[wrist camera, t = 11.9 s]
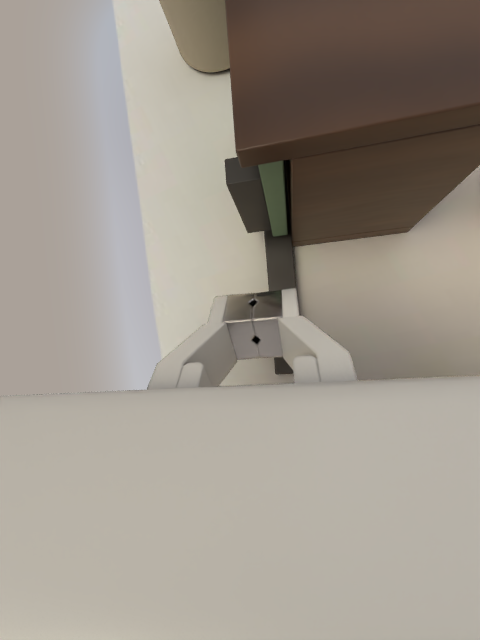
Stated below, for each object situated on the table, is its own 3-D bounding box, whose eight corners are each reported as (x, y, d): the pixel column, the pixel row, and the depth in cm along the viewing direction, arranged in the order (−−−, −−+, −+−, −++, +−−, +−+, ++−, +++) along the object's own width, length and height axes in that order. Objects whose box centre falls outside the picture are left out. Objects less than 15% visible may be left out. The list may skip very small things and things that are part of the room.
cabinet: (423, 365, 22) (618, 409, 9) (276, 372, 24) (254, 416, 11) (389, 79, 23) (510, -246, 10) (255, 108, 25) (215, -131, 12)
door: (287, 235, 22) (283, 155, 13) (250, 240, 23) (218, 167, 13) (276, 94, 23) (262, -84, 13) (240, 102, 24) (202, -64, 14)
